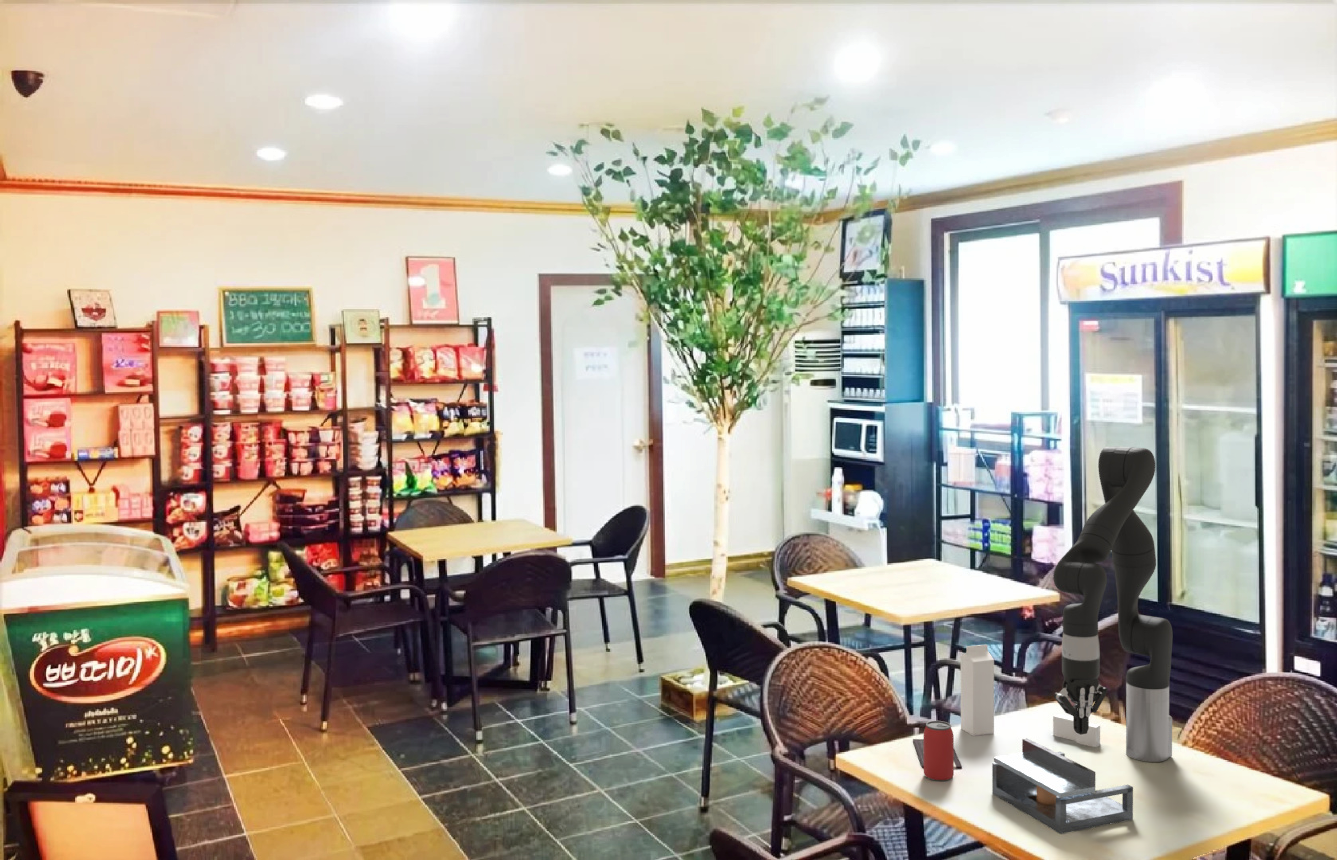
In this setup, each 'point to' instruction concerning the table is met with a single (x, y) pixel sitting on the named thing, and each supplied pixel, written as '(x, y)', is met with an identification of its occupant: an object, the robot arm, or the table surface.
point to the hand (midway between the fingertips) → (1081, 733)
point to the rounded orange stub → (1045, 797)
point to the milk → (977, 691)
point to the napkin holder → (1066, 730)
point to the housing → (1063, 803)
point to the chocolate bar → (920, 751)
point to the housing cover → (1049, 770)
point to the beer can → (938, 751)
